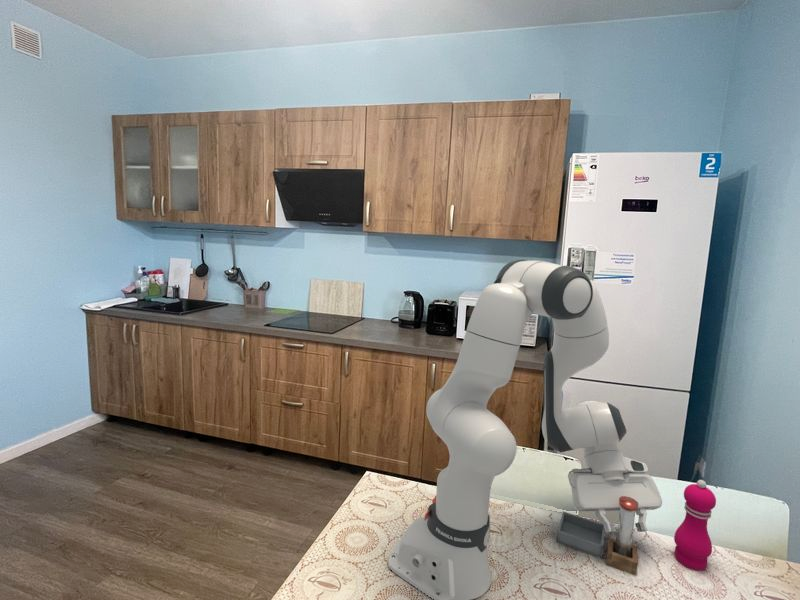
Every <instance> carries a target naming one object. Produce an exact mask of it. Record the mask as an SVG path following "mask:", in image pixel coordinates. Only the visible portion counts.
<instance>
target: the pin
mask: <svg viewBox="0 0 800 600" xmlns="http://www.w3.org/2000/svg"><path fill="white" fill-rule="evenodd" d="M619 505H620V510H619V516H618V524H617V533H616V537H615V539H616V547H615V553H618V554H620V555H623V556H626V557H629V558H630V550H631V545H632V541H633V533H634V525H635V517H636V512H635V511H636V510H637V509H638V502H637V501H636V500H635V499H633V498H630V497H627V496H622V497H620V498H619Z"/></svg>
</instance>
